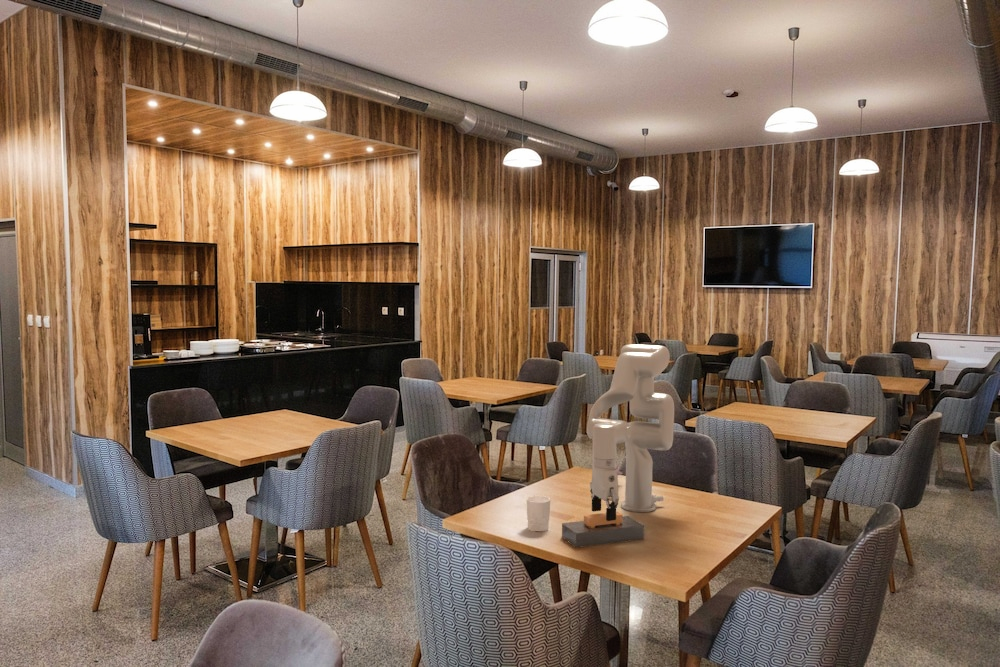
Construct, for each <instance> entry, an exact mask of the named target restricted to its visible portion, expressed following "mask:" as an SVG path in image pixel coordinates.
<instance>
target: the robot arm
mask: <svg viewBox="0 0 1000 667" xmlns="http://www.w3.org/2000/svg"><path fill="white" fill-rule="evenodd" d="M670 355H671V354H670V350H669V349H668V348H667V346H664V345H658V344H638V343H637V344H635V343H631V344H625V345H623V346H622V347H621V348H620V355H619V356H618V358H617V359H616V363H615V364H616V365H615V367H614V372H613V376H612V379H611V384H610V387H609V389H608V391H606V392H605V393H603V394H602V395H601V396H600V397H599V398H598V399H597V400H596V401H595V402H594V403H593V405H592V407H591V409H590V412H589V415H588V418H587V419H588V420H587V424H586V434H587V437H588V439H590V440H592V457H591V458H592V465H591V466H592V472H591V482H589V488H590V494H591V495H590V498H591V511H592V512H593V513H594V512H601V510H602V501H605V504H606V506H607V507H606V509H605V510H606V511H605V513H606V520H607V521H612V520H616V512H617V508H618V505H619V500H620V496H619V479H618V476H619V475H618V476H617V471H618V470H616V467H617V446H618V445H619V444H620V445H621V444H625V492H624V493H625V494H624V495H625V496H624V498H625V499H624V500H622V501H621V502H620V507H621V508H622V509H623V510H626V511H628V512H635V513H648V512H649V513H650V512H653V511H655V510H656V509H657V505H656V503H657V502H664V499H665V498H664V496H663V495H658V496H657V494H653V465H654V464H653V463H654V462H653V457H652V455H651V454H650V451H649V450H655V451H668V450H671V448H672V446H673V443H674V426H675V425H674V424H675V403H674V402H675V401H674V399H673V397H672V395H670V394H669V393H664V392H663V393H662V392H655V378H657V377H658V376H660V375H661V374H662V372H664V371H665V370H666V368H667V367H668V365H669V363H670ZM628 402H629V412H630V415H632V416H633V417H636V418H641V419H649V420H652V419H653V420H657V421H659V423H658V422H650V421H643V420H642V421H638V420H637V421H636V420H634V421H630V422H627V421H626V420H624V419H623V420H622V419H613V418H604V417H602V416H603V414H604V413H605V412H606V411H608V410H609V409H610V408H612V407H615V406H619V405H621V404H624V403H628Z"/></svg>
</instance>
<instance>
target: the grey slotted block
mask: <svg viewBox="0 0 1000 667" xmlns="http://www.w3.org/2000/svg"><path fill="white" fill-rule="evenodd" d="M561 537H563V538H562V539H564V538H565V539H566V540H567V542H568V541H569V542H570V543H571V546H573V545H574V546H575V547H578V548H582V547H581V546H586V547H591V546H590V545H594V546H600V545H599V544H602V545H608V544H609V543H610V544H616V543H617V542H618V543H625V541H626V542H631V541H641V540H644V539H645V525H644V524H643V523H641V522H639V521H638V520H636V519H634V518H633V517H631V516H629V515H625V516H623V517H622V523H620V525H617V526H615V525H614V524H605V525H597V526H595V528H591V529H590V528H588V527H587V526H586V524H584V520H581V521H580V520H579V521H572V522H569V521H568V522H562V523H561ZM565 539H564V540H565ZM566 540H565V541H566ZM569 542H568V543H569ZM570 543H569V544H570ZM610 544H609V545H610ZM574 546H573V547H574ZM575 547H574V548H575Z"/></svg>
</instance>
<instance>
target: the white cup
mask: <svg viewBox="0 0 1000 667" xmlns="http://www.w3.org/2000/svg"><path fill="white" fill-rule="evenodd" d="M551 500H552V499H551V498H550V497H549V496H545V495H532V496H531V495H530V496H528V497H527V498H526V515H527V518H526V519H527V529H528V530H529V531H531V530H532V531H531V532H535V531H543V532H546V531H549V524H550V514H551Z"/></svg>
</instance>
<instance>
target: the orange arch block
mask: <svg viewBox="0 0 1000 667" xmlns="http://www.w3.org/2000/svg"><path fill="white" fill-rule="evenodd" d="M622 517H623V514H622V513H620V512H619V511H616V520H612V521H607V520H606V512H602V513H592V514H586V515H585V514H584V515H583V521H584V524H586V526H587V527H588V528H590V529H591V528H595V526H597V525H605V524H614V525H615V526H617V525H620V523H622Z"/></svg>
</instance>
